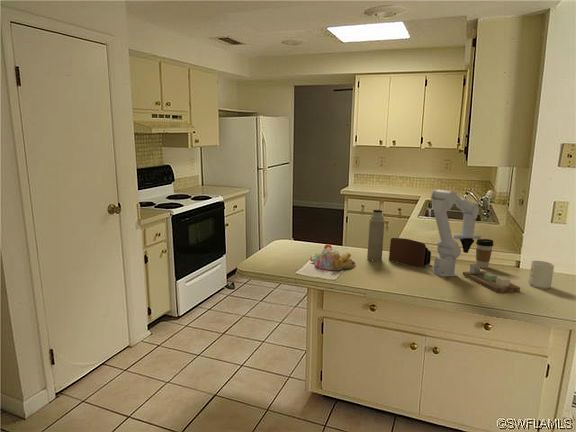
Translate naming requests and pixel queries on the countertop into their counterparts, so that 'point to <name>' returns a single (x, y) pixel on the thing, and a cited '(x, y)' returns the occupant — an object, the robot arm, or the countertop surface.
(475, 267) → the slider knob
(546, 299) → the countertop surface
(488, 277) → the sage green cube
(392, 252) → the letter holder
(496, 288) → the brown flat board
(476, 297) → the countertop surface
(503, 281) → the beige cube
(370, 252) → the thermos bottle
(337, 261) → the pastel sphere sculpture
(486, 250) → the coffee cup
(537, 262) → the mug
